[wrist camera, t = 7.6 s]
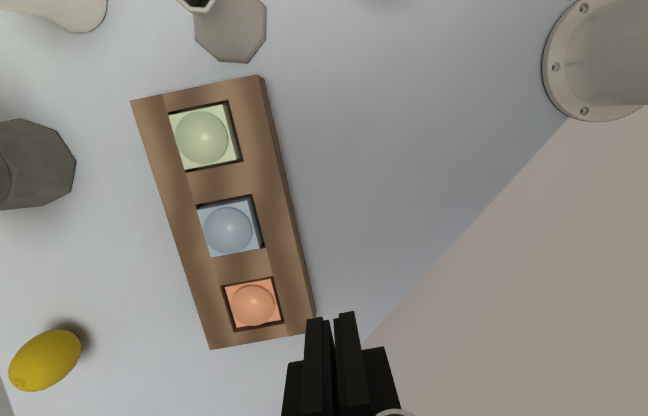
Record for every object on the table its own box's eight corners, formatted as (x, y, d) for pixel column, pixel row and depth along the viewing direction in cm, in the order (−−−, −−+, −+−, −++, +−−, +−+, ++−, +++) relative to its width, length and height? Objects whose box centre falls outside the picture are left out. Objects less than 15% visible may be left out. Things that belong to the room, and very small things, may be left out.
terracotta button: (273, 268, 39) (269, 281, 36) (283, 307, 40) (280, 323, 37) (230, 276, 39) (223, 290, 36) (241, 315, 40) (235, 330, 37)
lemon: (47, 314, 42) (-16, 359, 34) (94, 318, 42) (42, 364, 34) (51, 354, 43) (-8, 406, 35) (96, 357, 43) (48, 410, 35)
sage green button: (229, 105, 33) (220, 104, 30) (242, 156, 34) (234, 160, 32) (179, 115, 33) (165, 115, 30) (194, 166, 35) (181, 170, 32)
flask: (253, 76, 35) (228, 60, 25) (184, 46, 34) (131, 18, 25) (278, 2, 33) (261, -45, 24) (206, -31, 33) (158, -93, 23)
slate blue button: (252, 194, 36) (245, 202, 33) (263, 240, 37) (258, 250, 34) (205, 204, 36) (194, 212, 33) (218, 248, 37) (208, 260, 34)
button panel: (263, 79, 35) (257, 74, 31) (316, 311, 42) (315, 331, 38) (150, 102, 36) (129, 100, 32) (220, 328, 42) (210, 350, 38)
